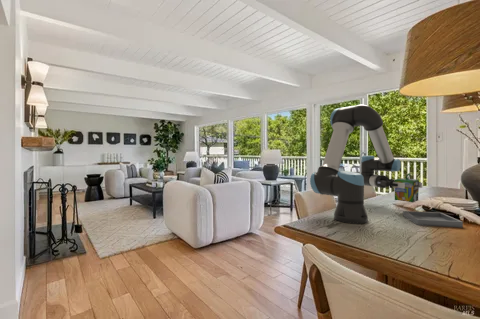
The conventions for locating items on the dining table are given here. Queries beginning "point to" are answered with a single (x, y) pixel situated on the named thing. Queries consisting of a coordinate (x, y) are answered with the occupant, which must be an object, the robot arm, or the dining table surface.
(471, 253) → the dining table surface
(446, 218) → the tray
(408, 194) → the chalk box
